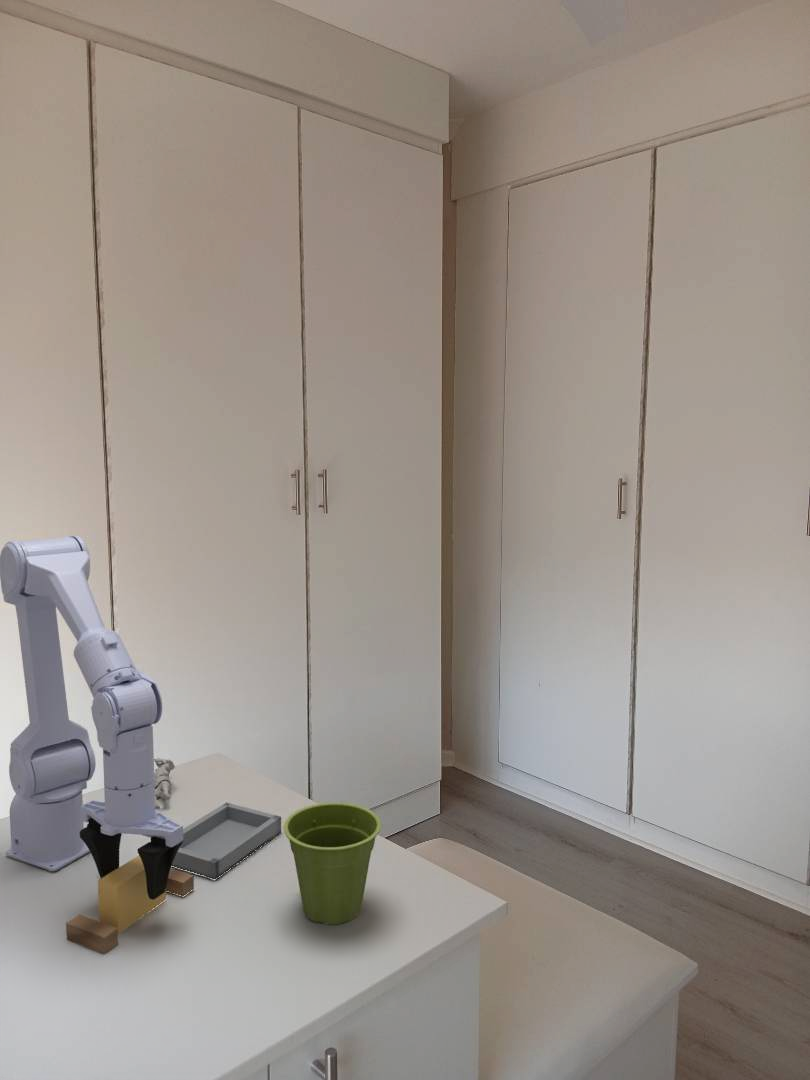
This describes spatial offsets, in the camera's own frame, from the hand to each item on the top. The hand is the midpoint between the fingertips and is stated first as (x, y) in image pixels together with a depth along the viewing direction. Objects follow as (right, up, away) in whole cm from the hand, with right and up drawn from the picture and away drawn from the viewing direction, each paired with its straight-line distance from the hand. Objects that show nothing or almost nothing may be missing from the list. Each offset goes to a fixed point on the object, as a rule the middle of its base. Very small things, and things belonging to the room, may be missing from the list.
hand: (133, 887), depth 103 cm
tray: (+7, -1, +17) cm, 18 cm away
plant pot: (+24, -4, +2) cm, 24 cm away
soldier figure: (-6, +1, +34) cm, 35 cm away
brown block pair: (0, -3, 0) cm, 3 cm away
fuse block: (0, -4, 0) cm, 4 cm away
